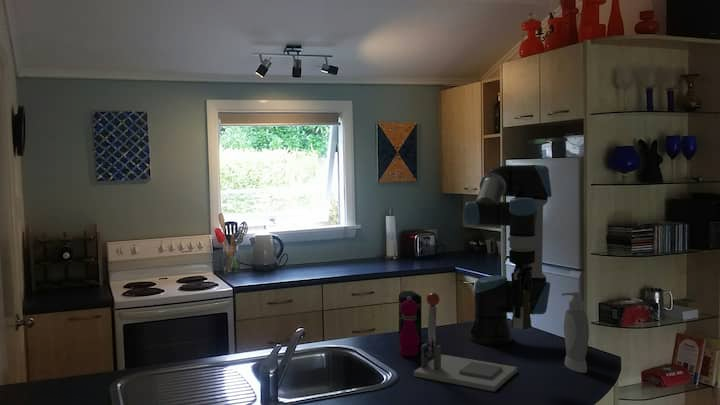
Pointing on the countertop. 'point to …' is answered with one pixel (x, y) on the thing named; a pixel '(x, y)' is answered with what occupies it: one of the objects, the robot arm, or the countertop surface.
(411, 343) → the pepper mill
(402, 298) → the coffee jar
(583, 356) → the soap bottle
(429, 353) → the press lever
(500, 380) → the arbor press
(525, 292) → the cork
